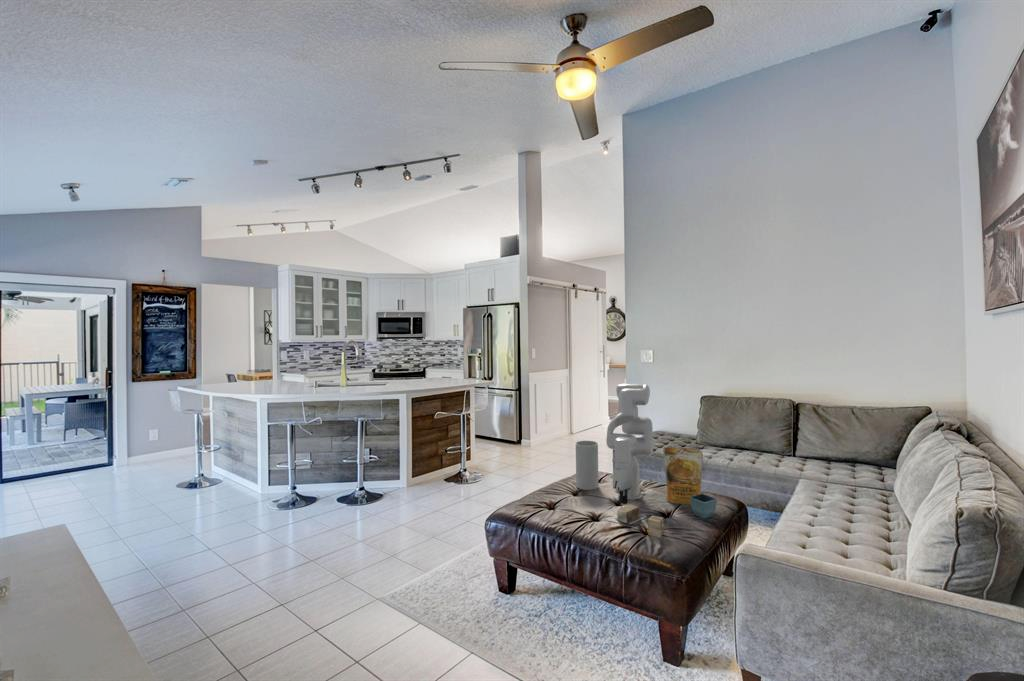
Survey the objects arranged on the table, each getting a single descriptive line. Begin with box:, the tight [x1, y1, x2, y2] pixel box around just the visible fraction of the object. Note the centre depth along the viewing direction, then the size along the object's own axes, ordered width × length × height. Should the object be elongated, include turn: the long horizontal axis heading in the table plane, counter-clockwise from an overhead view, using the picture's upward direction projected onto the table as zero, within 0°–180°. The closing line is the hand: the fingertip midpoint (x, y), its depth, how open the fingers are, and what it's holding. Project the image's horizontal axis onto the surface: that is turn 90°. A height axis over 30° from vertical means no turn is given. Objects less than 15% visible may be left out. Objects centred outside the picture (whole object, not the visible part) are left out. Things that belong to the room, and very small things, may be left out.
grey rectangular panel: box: [614, 513, 647, 525], centre depth 231 cm, size 12×9×1 cm
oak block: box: [647, 515, 664, 538], centre depth 213 cm, size 5×5×7 cm
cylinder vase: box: [575, 440, 600, 491], centre depth 274 cm, size 12×12×25 cm
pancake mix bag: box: [662, 446, 704, 506], centre depth 248 cm, size 7×19×28 cm, turn 69°
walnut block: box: [616, 503, 640, 524], centre depth 229 cm, size 5×5×10 cm
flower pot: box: [690, 493, 718, 519], centre depth 230 cm, size 9×9×9 cm
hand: (623, 503), depth 227 cm, fingers closed
